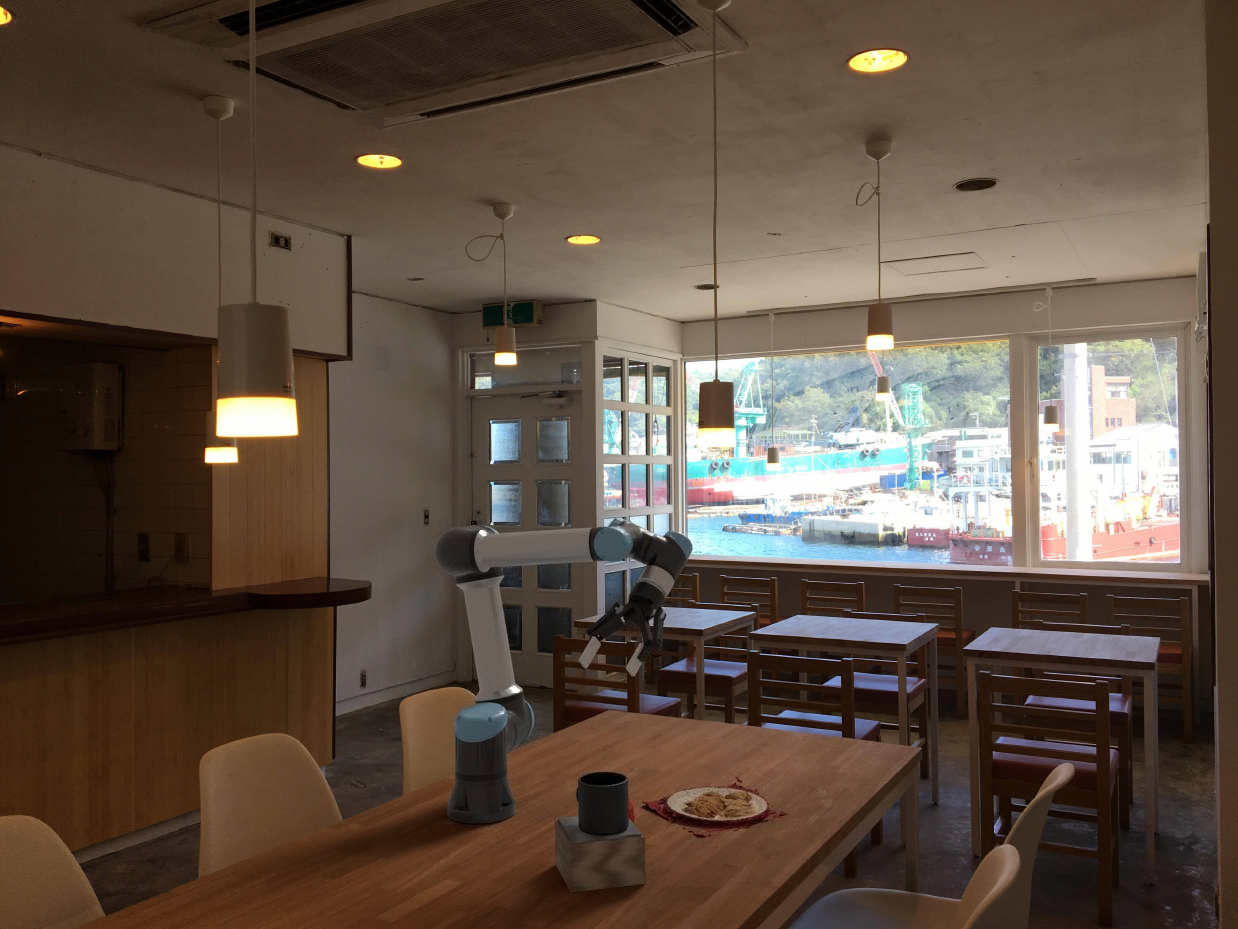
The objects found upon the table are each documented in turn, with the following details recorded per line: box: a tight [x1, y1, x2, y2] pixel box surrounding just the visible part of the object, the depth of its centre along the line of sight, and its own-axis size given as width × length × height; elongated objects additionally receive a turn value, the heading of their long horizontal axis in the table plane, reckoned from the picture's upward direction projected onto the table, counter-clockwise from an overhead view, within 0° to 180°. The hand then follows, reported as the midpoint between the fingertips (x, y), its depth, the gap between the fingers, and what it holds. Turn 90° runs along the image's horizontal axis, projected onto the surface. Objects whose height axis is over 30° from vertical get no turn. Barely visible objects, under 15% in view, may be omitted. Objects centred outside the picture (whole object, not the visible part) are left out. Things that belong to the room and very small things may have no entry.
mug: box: [575, 771, 629, 835], centre depth 186 cm, size 9×12×9 cm
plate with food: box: [641, 775, 789, 838], centre depth 222 cm, size 25×26×4 cm
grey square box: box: [554, 815, 646, 893], centre depth 186 cm, size 14×14×9 cm
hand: (605, 668), depth 209 cm, fingers open, 13 cm apart
